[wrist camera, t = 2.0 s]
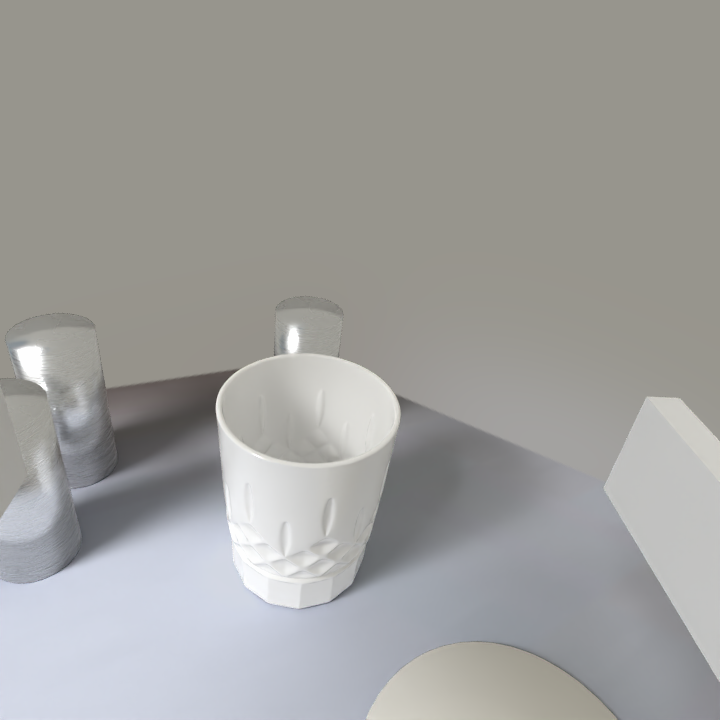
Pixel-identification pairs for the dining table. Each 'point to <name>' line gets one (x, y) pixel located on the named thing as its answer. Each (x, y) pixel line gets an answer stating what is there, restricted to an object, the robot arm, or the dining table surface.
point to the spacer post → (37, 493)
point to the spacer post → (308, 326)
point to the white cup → (303, 472)
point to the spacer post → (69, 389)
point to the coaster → (484, 688)
